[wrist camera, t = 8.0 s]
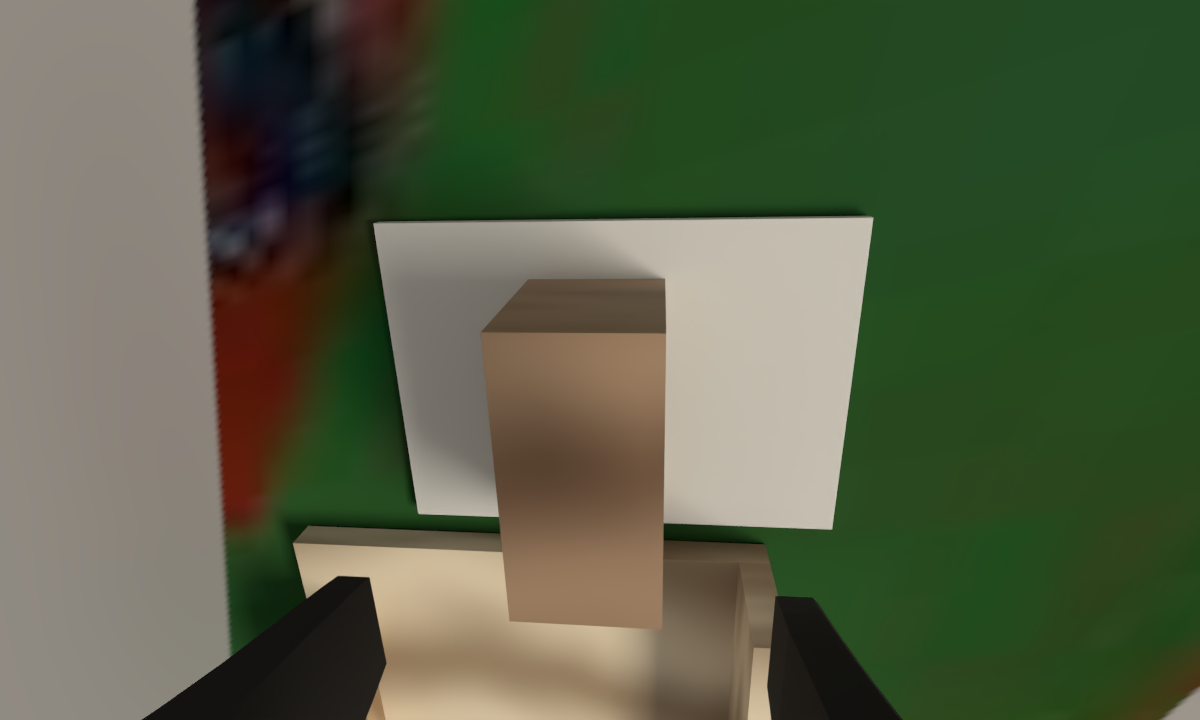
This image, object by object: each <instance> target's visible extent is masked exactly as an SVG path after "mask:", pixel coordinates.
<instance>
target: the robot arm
mask: <svg viewBox="0 0 1200 720" xmlns="http://www.w3.org/2000/svg"><path fill="white" fill-rule="evenodd" d="M386 664H387V662H386V657H385V652H384V647H383V642H382V637H381V632H380V627H379V622H378V617H377V612H376V607H375V602H374V597H373V592H372V587H371V582H370V577H353V576H337V577H335V578H334V579H333V580H331V581H330V582H328V583H327V584H326V585H324V586H323V587H322V588H320V589H319V590H318V591H316V592H315V593H314V594H312V595H311V596H310V597H308V598H307V599H306V600H304V601H303V602H302V603H301V604H299V605H298V606H297V607H295V608H294V609H293V610H291V611H290V612H289V613H288V614H286V615H285V616H284V617H282V618H281V619H280V620H279V621H277V622H276V623H275V624H273V625H272V626H271V627H269V628H268V629H267V630H266V631H264V632H263V633H262V634H260V635H259V636H258V637H256V638H255V639H254V640H252V641H251V642H250V643H248V644H247V645H246V646H244V647H243V648H242V649H241V650H239V651H238V652H237V653H235V654H234V655H233V656H231V657H230V658H229V659H227V660H226V661H225V662H223V663H222V664H221V665H219V666H218V667H216V668H215V669H214V670H212V671H211V672H209V673H208V674H207V675H205V676H204V677H202V678H201V679H200V680H198V681H197V682H195V683H194V684H192V685H191V686H190V687H188V688H187V689H186V690H184V691H183V692H181V693H180V694H178V695H177V696H176V697H174V698H173V699H171V700H170V701H168V702H167V703H166V704H164V705H163V706H161V707H160V708H159V709H157V710H156V711H154V712H153V713H151V714H150V715H148V716H147V717H145V718H144V719H142V720H366V717H367V715H368V712H369V710H370V707H371V705H372V702H373V700H374V697H375V694H376V692H377V689H378V686H379V683H380V681H381V678H382V675H383V672H384V669H385V667H386ZM767 690H768V698H769V706H770V714H771V720H903V719H902V718H901V717H900V716H899V714H898V713H897V712H896V710H895V709H894V708H893V707H892V705H891V704H890V703H889V701H888V700H887V699H886V698H885V696H884V695H883V694H882V693H881V691H880V690H879V689H878V687H877V686H876V685H875V684H874V682H873V681H872V680H871V678H870V677H869V676H868V674H867V673H866V671H865V670H864V669H863V667H862V666H861V665H860V663H859V662H858V661H857V659H856V658H855V656H854V655H853V654H852V652H851V651H850V649H849V648H848V647H847V645H846V644H845V642H844V641H843V639H842V638H841V637H840V635H839V634H838V632H837V631H836V629H835V628H834V626H833V625H832V623H831V622H830V620H829V619H828V618H827V616H826V615H825V613H824V612H823V610H822V608H821V607H820V605H819V604H818V603H817V602H816V601H815V600H814V599H813V598H807V597H786V596H775V606H774V617H773V627H772V638H771V649H770V660H769V670H768V681H767Z"/></svg>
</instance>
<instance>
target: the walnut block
mask: <svg viewBox="0 0 1200 720" xmlns="http://www.w3.org/2000/svg"><path fill="white" fill-rule="evenodd" d="M480 333H481V343H482V353H483V363H484V373H485V383H486V393H487V403H488V413H489V423H490V433H491V443H492V453H493V463H494V473H495V483H496V493H497V503H498V513H499V523H500V533H501V542H502V552H503V562H504V572H505V582H506V592H507V602H508V612H509V621H512V622H530V623H549V624H567V625H585V626H604V627H622V628H640V629H658V630H662V600H663V528H664V455H665V383H666V290H665V279H528V280H527V281H526V282H525V283H524V285H523V286H522V287H521V288H520V289H519V290H518V291H517V292H516V293H515V295H514V296H513V297H512V298H511V299H510V300H509V301H508V302H507V303H506V305H505V306H504V307H503V308H502V309H501V310H500V311H499V312H498V313H497V315H496V316H495V317H494V318H493V319H492V320H491V321H490V322H489V323H488V325H487V326H486V327H485V328H484V329H483V330H482V331H481V332H480Z"/></svg>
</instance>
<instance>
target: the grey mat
mask: <svg viewBox="0 0 1200 720" xmlns="http://www.w3.org/2000/svg"><path fill="white" fill-rule="evenodd" d="M872 224H873V217H870V216H804V217H721V218H638V219H555V220H472V221H389V222H377V223H373V225H374V232H375V238H376V244H377V251H378V257H379V264H380V270H381V277H382V283H383V290H384V296H385V302H386V309H387V315H388V322H389V328H390V335H391V341H392V348H393V354H394V360H395V367H396V373H397V380H398V386H399V393H400V399H401V406H402V412H403V418H404V425H405V431H406V438H407V444H408V451H409V457H410V464H411V470H412V476H413V483H414V489H415V496H416V502H417V509H418V514H436V515H463V516H489V517H499V513H498V503H497V493H496V483H495V473H494V463H493V453H492V443H491V433H490V423H489V413H488V403H487V393H486V383H485V373H484V363H483V353H482V343H481V333H480V332H481V331H482V330H483V329H484V328H485V327H486V326H487V325H488V323H489V322H490V321H491V320H492V319H493V318H494V317H495V316H496V315H497V313H498V312H499V311H500V310H501V309H502V308H503V307H504V306H505V305H506V303H507V302H508V301H509V300H510V299H511V298H512V297H513V296H514V295H515V293H516V292H517V291H518V290H519V289H520V288H521V287H522V286H523V285H524V283H525V282H526V281H527V280H528V279H665V290H666V383H665V455H664V523H674V524H701V525H727V526H754V527H780V528H807V529H832V525H833V518H834V510H835V503H836V495H837V488H838V480H839V473H840V465H841V458H842V450H843V443H844V435H845V427H846V420H847V412H848V405H849V397H850V390H851V382H852V375H853V367H854V360H855V352H856V345H857V337H858V330H859V322H860V314H861V307H862V299H863V292H864V284H865V277H866V269H867V262H868V254H869V247H870V239H871V232H872Z"/></svg>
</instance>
